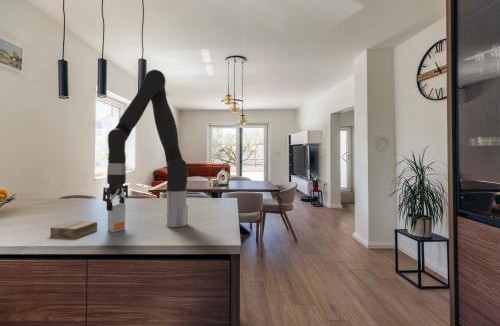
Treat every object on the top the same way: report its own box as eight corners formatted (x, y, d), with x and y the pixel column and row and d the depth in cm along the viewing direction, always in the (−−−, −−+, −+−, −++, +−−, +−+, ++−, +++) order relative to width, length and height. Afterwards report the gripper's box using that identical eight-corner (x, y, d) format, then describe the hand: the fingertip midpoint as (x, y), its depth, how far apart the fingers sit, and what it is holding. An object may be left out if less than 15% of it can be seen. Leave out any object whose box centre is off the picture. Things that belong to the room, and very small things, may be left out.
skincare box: (112, 232, 116) (112, 205, 115) (107, 231, 118) (107, 204, 118) (125, 229, 121) (125, 203, 120) (120, 228, 123) (120, 202, 123)
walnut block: (97, 230, 120) (97, 222, 119) (76, 238, 108) (76, 229, 108) (73, 229, 121) (73, 220, 121) (50, 237, 109) (50, 227, 109)
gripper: (113, 174, 111) (113, 212, 111) (133, 172, 125) (132, 206, 125) (97, 173, 112) (97, 211, 112) (119, 172, 126) (118, 205, 127)
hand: (115, 208), depth 119 cm, fingers open, 8 cm apart
